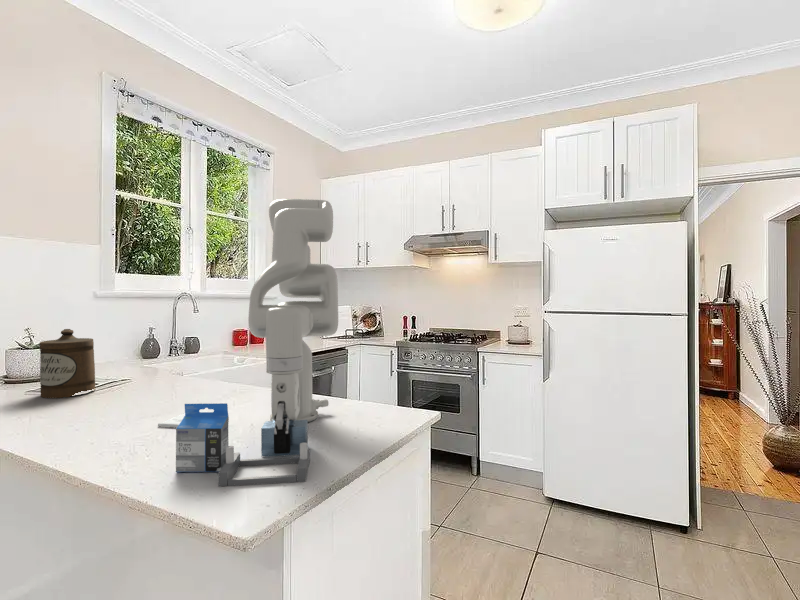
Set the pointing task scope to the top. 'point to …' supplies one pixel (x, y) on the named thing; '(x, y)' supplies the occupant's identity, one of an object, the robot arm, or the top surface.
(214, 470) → the label tape box
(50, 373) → the wooden container
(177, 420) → the external hard drive
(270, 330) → the robot arm
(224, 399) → the top surface
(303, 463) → the dock
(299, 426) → the light blue block
